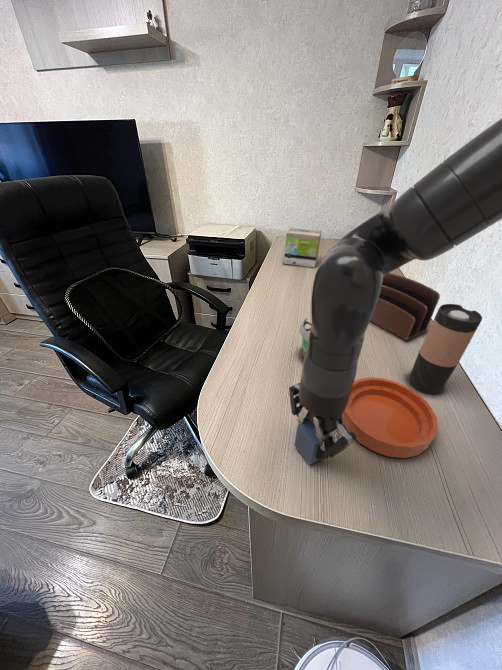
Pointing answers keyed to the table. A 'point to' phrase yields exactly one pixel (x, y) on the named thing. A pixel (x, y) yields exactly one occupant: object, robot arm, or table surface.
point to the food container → (305, 336)
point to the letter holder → (404, 306)
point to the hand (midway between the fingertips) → (312, 445)
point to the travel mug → (443, 347)
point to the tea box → (302, 247)
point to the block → (307, 441)
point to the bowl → (389, 418)
